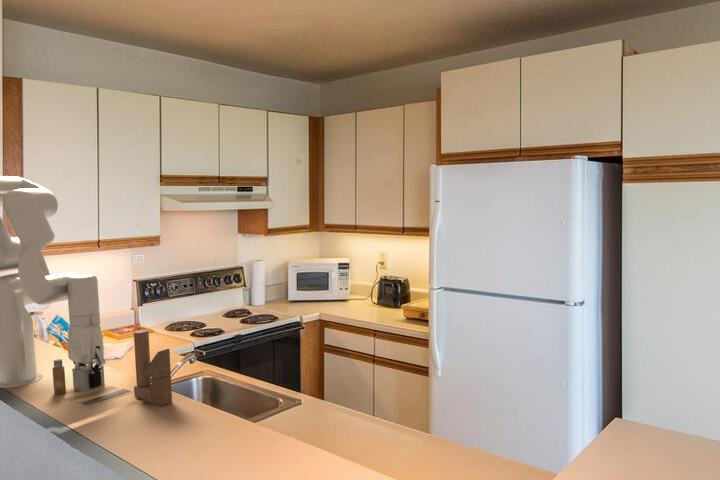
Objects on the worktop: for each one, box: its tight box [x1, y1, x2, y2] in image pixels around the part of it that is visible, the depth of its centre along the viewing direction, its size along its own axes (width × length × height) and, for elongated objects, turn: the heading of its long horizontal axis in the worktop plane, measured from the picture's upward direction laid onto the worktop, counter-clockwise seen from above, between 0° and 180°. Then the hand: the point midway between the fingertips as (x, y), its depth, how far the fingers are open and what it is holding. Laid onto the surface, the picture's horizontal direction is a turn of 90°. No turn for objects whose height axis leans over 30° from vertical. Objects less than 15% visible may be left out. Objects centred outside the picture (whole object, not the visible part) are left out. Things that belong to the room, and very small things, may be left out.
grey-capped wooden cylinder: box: [52, 358, 67, 396], centre depth 154 cm, size 3×3×9 cm
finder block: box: [72, 363, 106, 392], centre depth 159 cm, size 5×6×6 cm
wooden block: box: [133, 329, 173, 407], centre depth 149 cm, size 4×11×18 cm, turn 58°
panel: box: [52, 384, 134, 408], centre depth 154 cm, size 18×12×1 cm, turn 57°
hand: (89, 384), depth 159 cm, fingers closed on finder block, 5 cm apart
